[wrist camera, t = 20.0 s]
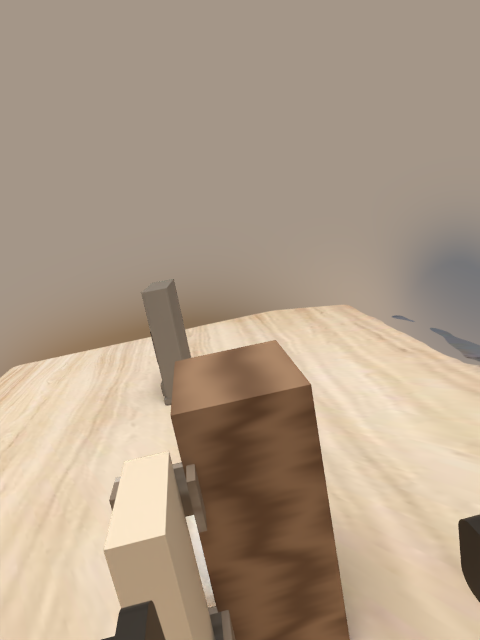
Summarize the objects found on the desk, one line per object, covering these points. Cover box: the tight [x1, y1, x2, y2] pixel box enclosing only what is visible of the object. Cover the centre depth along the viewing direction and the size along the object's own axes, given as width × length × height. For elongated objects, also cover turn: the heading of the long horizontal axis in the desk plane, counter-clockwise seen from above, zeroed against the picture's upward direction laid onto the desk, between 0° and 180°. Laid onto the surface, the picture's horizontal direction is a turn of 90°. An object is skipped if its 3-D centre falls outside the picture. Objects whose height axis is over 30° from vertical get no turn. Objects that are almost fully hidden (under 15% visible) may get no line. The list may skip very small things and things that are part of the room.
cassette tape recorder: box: [142, 279, 191, 405], centre depth 95 cm, size 14×6×25 cm, turn 3°
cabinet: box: [109, 340, 350, 640], centre depth 34 cm, size 15×20×24 cm
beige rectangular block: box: [104, 451, 215, 640], centre depth 27 cm, size 3×8×18 cm, turn 8°
